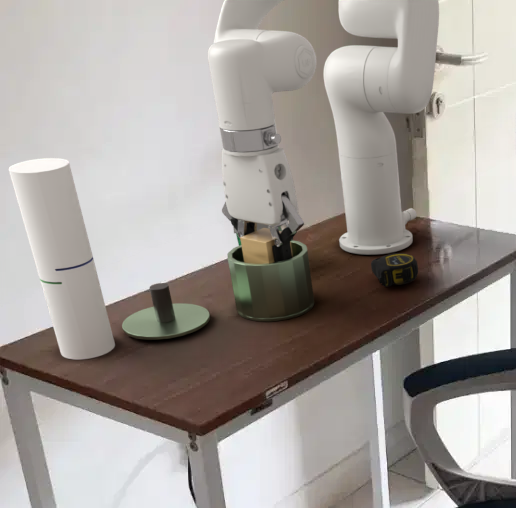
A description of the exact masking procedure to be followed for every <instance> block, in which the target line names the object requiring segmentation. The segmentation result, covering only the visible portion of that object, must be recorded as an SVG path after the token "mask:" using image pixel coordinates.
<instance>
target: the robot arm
mask: <svg viewBox="0 0 516 508" xmlns="http://www.w3.org/2000/svg"><path fill="white" fill-rule="evenodd" d="M283 2H285V0H223V3H222V5H221V8H220V12H219V16H218V20H217V23H216V28H215V32H214V38H213V43H212V44H211V45H210V46H209V48H208V50H207V61H208V67H209V73H210V78H211V79H210V80H211V86H212V91H213V98H214V102H215V103H214V104H215V108H216V114H217V115H216V116H217V119H218V125H219V132H220V138H221V144H222V149H221V175H222V177H221V178H222V186H223V193H224V199H225V201H224V204H223V206H222V208H221V213H222V214H223V216H225V218H226V219H227V220H228V221H229V222H230V223H231V226H232V228H233V227H234V228H235V229H236V230H237V232H238V233H237V234H238V237H239V238H240V237H243V236H245V235H248V234H250V233H252V232H255V231H257V223H259V224H265V225H268V227H269V229H270V232H271V235H272V238H273V241H274V243H275V245H274V246H272V250H273V256H274V263H275V262H280V261H284V260H288V259H291V258H292V253H291V246H290V241H292V240H294V237H295V236H296V234H297V233H298V231H300V229H302V227H304V225H305V221H304V219H303V218H302V216H301V215H300V214H299V204H298V198H297V192H296V188H295V187H296V186H295V182H294V179H293V174H292V170H291V166H290V163H289V160H288V157H287V155H286V152H285V149H284V148H283V147H280V143H281V142H282V136H281V135H280V133H278V129H277V123H276V115H275V108H274V102H273V94H274V93H279V92H291V91H296V90H297V91H298V90H300V89H302V88H304V87H305V86H306V85H308V84H309V83H310V82H311V80H312V79H313V77H314V75H315V72H316V70H317V54H316V51H315V49H314V47H313V45H312V43H311V42H310V41H309V40H308V39H307V38H306V37H305V36H303V35H301V34H299V33H297V32H294V31H293V32H292V31H288V30H271V29H259V27H260V26H261V23H262V22H263V20H264V19H265V17H267V15H268V14H269V13H270V12H271V11H272V10H273V9H274V8H275V7H276V6H279V4H281V3H283ZM338 18H339V22H340V25H341V26H342V28H343V29H344V31H346V32H347V33H348V34H350V35H353V36H355V37H361V38H371V39H372V38H374V39H376V38H377V39H396V40H397V47H396V46H394V47H393V46H381V45H359V44H358V45H357V44H352V45H345V46H341V47H339V48H336V49H335V50H333V51H331V53H330V54H329V55H328V56H327V58H326V59H325V62H324V65H323V82H324V89H325V92H326V95H327V98H328V99H327V100H328V102H329V105H330V109H331V112H332V118H333V121H334V122H333V123H334V127H335V133H336V141H337V151H338V159H339V160H338V161H339V167H340V168H339V170H340V178H341V188H342V196H343V205H344V206H343V207H344V214H345V223H346V231H347V232H345V233H343V234H342V235H341V236H340V237H339V239H338V241H339V242H338V243H339V247H340V248H341V249H342V250H343V251H345V252H346V253H349V254H350V253H351V254H354V255H363V256H364V255H365V256H376V255H378V256H379V255H388V254H393V253H396V252H400V251H402V250H405V249H406V248H408V247H410V246H411V245H412V244H413V233H412V232H411V231H410V230H408V229H406V225H407V224H408V223H409V222H411V221H413V220H415V219H416V218H417V215H418V214H417V211H416V210H415V209H414V208H412V207H410V208H408V209H405V210H404V211H403V210H402V203H401V199H402V198H401V188H400V176H399V165H398V164H399V163H398V151H397V150H398V149H397V140H396V134H395V131H394V129H393V126H392V125H391V122H390V121H389V119H388V117H387V116H386V114H385V113H391V114H392V113H393V114H409V115H410V114H418V113H420V112H422V111H424V109H426V108H427V106H428V105H429V102H430V101H431V97H432V94H433V87H434V79H435V71H436V70H435V69H436V58H437V48H438V38H439V37H438V35H439V24H440V3H439V0H338ZM287 219H288V221H287ZM278 226H281V229H282V232H281V233H280V232H279V230H278ZM234 228H233V229H234Z"/></svg>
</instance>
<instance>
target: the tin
mask: <svg viewBox="0 0 516 508" xmlns="http://www.w3.org/2000/svg"><path fill="white" fill-rule="evenodd" d="M291 247H292V254H293V258H291V259H288V260H284V261H280V262H275V263H266V264H249V263H244V257H243V251H242V245H240V246H239V245H237V246H235V247H233V248H232V249H231V250H230V251H228V253H227V263H228V269H229V274H230V280H231V286H232V290H233V298H234V302H235V307H236V312H237V314H238V315H239V316H240V317H242V318H244V319H245V320H250V321H253V322H254V321H255V322H266V323H267V322H279V321H280V322H281V321H285V320H291V319H294V318H298V317H300V316H303V315H305V314H306V313H308V312H310V311H311V310H312V309H313V308H314V306H315V297H314V289H313V281H312V280H313V279H312V274H311V267H310V266H311V265H310V260H309V251H308V247H307V245H306V244H305V243H303V242H301V241H299V240H294V239H293V240H292V241H291Z"/></svg>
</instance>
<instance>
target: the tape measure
mask: <svg viewBox="0 0 516 508" xmlns="http://www.w3.org/2000/svg"><path fill="white" fill-rule="evenodd" d="M370 269H371V271H372V273H373V275H374V276H375V277H376V278H377V279H378V281H379V284H381V285H382V286H383V287H384V288H387V287H392V286H401V285H403V286H404V285H406V284H410V283H412V282H413V281H415V280H416V279H417V277H418V274H419V265H418V261H417V259H416V258H415V257H414V256H413V255H412V254H409V253H403V252H399V253H398V252H397V253H396V252H393V253H388V254H385V255H383V256H380V257H377V258H375V259H372V260H371V263H370Z"/></svg>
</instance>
